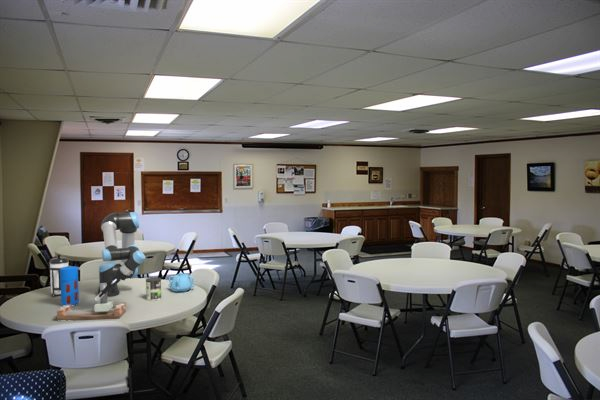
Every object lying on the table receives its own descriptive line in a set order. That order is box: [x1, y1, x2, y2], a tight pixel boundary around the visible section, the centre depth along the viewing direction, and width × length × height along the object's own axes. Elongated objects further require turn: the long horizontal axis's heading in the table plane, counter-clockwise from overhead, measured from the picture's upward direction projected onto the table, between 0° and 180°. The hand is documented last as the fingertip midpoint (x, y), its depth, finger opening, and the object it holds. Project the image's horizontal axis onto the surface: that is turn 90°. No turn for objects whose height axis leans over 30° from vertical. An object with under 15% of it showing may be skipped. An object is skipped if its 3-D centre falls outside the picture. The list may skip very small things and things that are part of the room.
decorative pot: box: [167, 272, 195, 293], centre depth 344 cm, size 16×16×14 cm
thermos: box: [60, 265, 80, 306], centre depth 309 cm, size 11×11×25 cm
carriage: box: [94, 283, 114, 312], centre depth 282 cm, size 10×8×16 cm
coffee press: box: [48, 253, 70, 296], centre depth 334 cm, size 17×16×30 cm
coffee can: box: [145, 277, 162, 302], centre depth 321 cm, size 10×10×14 cm
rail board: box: [56, 302, 127, 322], centre depth 282 cm, size 14×38×7 cm, turn 96°
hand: (97, 299), depth 282 cm, fingers closed on carriage, 4 cm apart
